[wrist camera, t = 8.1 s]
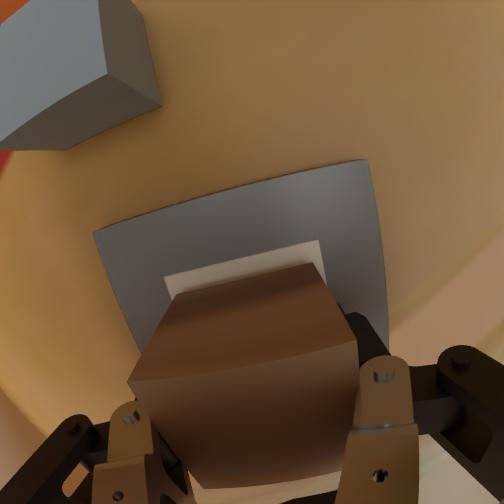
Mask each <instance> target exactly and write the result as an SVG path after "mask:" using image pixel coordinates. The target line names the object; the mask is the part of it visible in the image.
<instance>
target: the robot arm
mask: <svg viewBox="0 0 504 504" xmlns="http://www.w3.org/2000/svg"><path fill="white" fill-rule="evenodd" d="M337 305H338V307H339V308H340V310H341V312H342V314H343V316H344V317H345V319H346V321H347V323H348V325H349V326H350V328H351V330H352V332H353V334H354V336H355V337H356V339H357V347H358V359H359V373H360V385H357V394H356V403H355V412H354V420H353V427H352V428H350V430H349V434H348V439H347V445H346V451H345V457H344V462H343V467H342V472H341V477H340V482H339V487H338V490H335V491H331V492H327V493H322V494H317V495H312V496H307V497H301V498H295V499H292V500H289V501H286V502H283V503H281V504H418V495H419V436H418V435H424V434H429V435H430V436H431V437H432V438H433V439H434V440H435V441H436V442H437V443H438V444H440V445H441V446H442V447H443V448H444V449H445V450H446V451H447V452H448V453H449V454H450V455H451V456H452V457H453V458H454V459H455V460H456V461H457V462H458V463H459V464H460V465H461V466H462V467H464V468H465V469H466V470H467V471H468V472H469V473H470V474H471V475H472V476H473V477H474V478H475V479H476V480H477V481H478V482H479V483H480V484H481V485H483V487H485V488H486V489H487V490H488V491H489V492H490V493H491V494H492V495H493V496H494V497H495V498H496V499H497V500H498V501H499V502H500V504H504V365H503V364H501V363H499V362H498V361H496V360H494V359H493V358H491V357H489V356H488V355H486V354H484V353H483V352H481V351H479V350H478V349H476V348H474V347H471V346H467V345H457V346H453V347H450V348H448V349H446V350H445V351H443V352H442V353H441V355H440V356H439V358H438V363H437V364H433V365H426V366H418V367H413V366H408V364H407V363H406V362H405V361H404V360H403V359H401V358H399V357H396V356H391V354H390V353H389V351H388V349H387V348H386V346H385V345H384V343H383V342H382V340H381V339H380V337H379V336H378V334H377V333H376V332H375V330H374V328H373V327H372V326H371V324H370V322H369V321H368V319H367V318H366V317H365V316H363V315H361V314H359V313H358V312H352V313H348V314H345V312H344V311H343V309H342V307H341V305H340V304H339V303H337ZM79 462H80V463H81V464H82V465H83V466H84V467H85V468H86V469H87V470H88V471H89V473H88V474H87V476H86V477H85V478H84V480H83V481H82V482H81V484H80V485H79V486H78V488H77V489H76V490H75V491H74V493H73V494H72V495H71V496H70V497H66V496H65V495H64V493H63V491H62V485H63V482H64V481H65V480H66V479H67V477H68V476H69V475H70V474H71V472H72V471H73V470H74V469H75V467H76V466H77V465H78V463H79ZM0 504H197V503H196V501H195V498H194V494H193V490H192V486H191V483H190V478H189V474H188V470H187V468H186V467H185V466H184V464H183V463H182V462H181V461H180V460H179V458H178V457H177V456H176V455H175V453H174V452H173V451H172V449H171V448H170V447H169V445H168V444H167V443H166V441H165V440H164V438H163V437H162V436H161V434H160V433H159V431H158V429H157V428H156V426H155V425H154V423H153V422H152V420H151V419H150V418H149V417H148V415H147V414H146V412H145V411H144V409H143V407H142V406H141V404H140V403H139V401H138V400H137V398H135V400H134V401H130V402H127V403H125V404H123V405H121V406H120V407H118V408H117V409H116V410H115V411H114V412H113V414H112V416H111V419H110V421H109V422H104V423H100V424H96V425H93V423H92V422H91V421H90V419H89V418H88V417H87V416H85V415H82V414H77V415H73V416H71V417H69V418H67V419H65V420H64V421H63V422H62V423H61V424H60V425H59V426H58V427H57V428H56V430H55V431H54V432H53V433H52V434H51V435H50V436H49V437H48V438H47V439H46V440H45V441H44V443H43V444H42V445H41V446H40V447H39V448H38V449H37V450H36V451H35V452H34V454H33V455H32V456H31V457H30V458H29V459H28V460H27V461H26V462H25V464H24V465H23V466H22V467H21V468H20V469H19V470H18V471H17V473H16V474H15V475H14V476H13V477H12V478H11V479H10V480H9V482H8V483H7V484H6V485H5V486H4V487H3V488H2V490H1V491H0Z"/></svg>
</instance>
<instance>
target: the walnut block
mask: <svg viewBox="0 0 504 504" xmlns="http://www.w3.org/2000/svg"><path fill="white" fill-rule="evenodd" d="M127 383H128V385H129V386H130V388H131V390H132V391H133V393H134V395H135V396H136V398H137V400H138V401H139V403H140V404H141V406H142V407H143V409H144V411H145V412H146V414H147V415H148V417H149V418H150V419H151V420H152V422H153V423H154V425H155V426H156V428H157V429H158V431H159V433H160V434H161V436H162V437H163V438H164V440H165V441H166V443H167V444H168V445H169V447H170V448H171V449H172V451H173V452H174V453H175V455H176V456H177V457H178V458H179V460H180V461H181V462H182V463H183V464H184V466H185V467H186V468H187V470H188V471H189V472H190V473H191V475H192V476H193V477H194V478H195V479H196V481H197V482H198V483H199V484H200V485H201V486H202V488H203V489H218V488H236V487H249V486H259V485H267V484H275V483H282V482H288V481H294V480H300V479H305V478H310V477H315V476H320V475H324V474H329V473H333V472H337V471H341V470H342V467H343V462H344V457H345V451H346V445H347V439H348V434H349V430H350V428H352V427H353V420H354V412H355V403H356V394H357V385H360V373H359V359H358V347H357V339H356V337H355V336H354V334H353V332H352V330H351V328H350V326H349V325H348V323H347V321H346V319H345V317H344V316H343V314H342V312H341V310H340V308H339V307H338V305H337V303H336V301H335V300H334V298H333V296H332V294H331V293H330V291H329V289H328V287H327V286H326V284H325V282H324V280H323V279H322V277H321V275H320V273H319V272H318V270H317V268H316V267H315V265H314V263H313V262H310V263H306V264H302V265H298V266H294V267H290V268H285V269H281V270H277V271H273V272H269V273H265V274H261V275H257V276H252V277H248V278H244V279H240V280H236V281H231V282H227V283H223V284H218V285H214V286H210V287H205V288H201V289H197V290H192V291H188V292H183V293H179V294H176V295H175V297H174V299H173V300H172V302H171V304H170V306H169V307H168V309H167V311H166V313H165V314H164V316H163V318H162V319H161V321H160V323H159V325H158V326H157V328H156V330H155V332H154V334H153V335H152V337H151V339H150V341H149V342H148V344H147V346H146V348H145V350H144V351H143V353H142V355H141V357H140V359H139V360H138V362H137V364H136V366H135V368H134V370H133V371H132V373H131V375H130V377H129V379H128V381H127Z"/></svg>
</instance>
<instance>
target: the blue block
mask: <svg viewBox="0 0 504 504" xmlns="http://www.w3.org/2000/svg"><path fill="white" fill-rule="evenodd" d="M160 107H163V106H162V102H161V98H160V94H159V89H158V85H157V81H156V77H155V72H154V68H153V64H152V59H151V55H150V50H149V45H148V41H147V36H146V31H145V26H144V21H143V16H142V14H141V13H140V11H139V10H138V9H137V8H136V6H135V5H134V4H133V3H132V2H131V0H31V1H29V2H28V3H27V4H25V5H24V6H23V7H21V8H20V9H19V10H18V11H16V12H15V13H14V14H13V15H12V16H10V17H9V18H8V19H7V20H6V21H4V22H3V23H2V24H1V25H0V151H18V150H67V149H69V148H71V147H73V146H75V145H77V144H79V143H81V142H82V141H84V140H86V139H88V138H90V137H92V136H95V135H97V134H99V133H101V132H103V131H105V130H107V129H109V128H112V127H114V126H116V125H118V124H120V123H123V122H125V121H127V120H130V119H132V118H135V117H137V116H139V115H142V114H144V113H147V112H149V111H152V110H155V109H157V108H160Z"/></svg>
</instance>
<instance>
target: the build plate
mask: <svg viewBox="0 0 504 504" xmlns="http://www.w3.org/2000/svg"><path fill="white" fill-rule="evenodd" d="M92 233H93V236H94V239H95V242H96V245H97V248H98V251H99V254H100V257H101V259H102V262H103V265H104V268H105V270H106V273H107V276H108V278H109V281H110V283H111V286H112V288H113V291H114V293H115V296H116V298H117V301H118V303H119V305H120V308H121V310H122V312H123V315H124V317H125V319H126V322H127V324H128V326H129V328H130V330H131V333H132V335H133V337H134V339H135V341H136V343H137V345H138V347H139V349H140V351H141V353H143V351H144V350H145V348H146V346H147V344H148V342H149V341H150V339H151V337H152V335H153V334H154V332H155V330H156V328H157V326H158V325H159V323H160V321H161V319H162V318H163V316H164V314H165V313H166V311H167V309H168V307H169V306H170V304H171V302H172V300H173V299H174V297H175V295H176V294H179V293H183V292H188V291H192V290H197V289H201V288H205V287H210V286H214V285H218V284H223V283H227V282H231V281H236V280H240V279H244V278H248V277H252V276H257V275H261V274H265V273H269V272H273V271H277V270H281V269H285V268H290V267H294V266H298V265H302V264H306V263H310V262H313V263H314V265H315V267H316V268H317V270H318V272H319V273H320V275H321V277H322V279H323V280H324V282H325V284H326V286H327V287H328V289H329V291H330V293H331V294H332V296H333V298H334V300H335V301H336V303H339V304H340V305H341V307H342V309H343V311H344V312H345V314H348V313H352V312H358V313H359V314H361V315H363V316H365V317H366V318H367V319H368V321H369V322H370V324H371V326H372V327H373V328H374V330H375V332H376V333H377V334H378V336H379V337H380V339H381V340H382V342H383V343H384V345H385V346H386V348H387V349H388V351H389V326H388V306H387V291H386V279H385V268H384V258H383V250H382V242H381V234H380V227H379V220H378V214H377V207H376V201H375V196H374V190H373V185H372V180H371V175H370V170H369V165H368V160H367V159H357V160H352V161H347V162H342V163H337V164H332V165H327V166H322V167H318V168H313V169H308V170H304V171H299V172H295V173H290V174H286V175H282V176H278V177H273V178H269V179H265V180H261V181H257V182H253V183H249V184H245V185H241V186H238V187H234V188H230V189H226V190H223V191H219V192H215V193H212V194H208V195H205V196H201V197H198V198H194V199H191V200H187V201H184V202H180V203H177V204H174V205H170V206H167V207H164V208H161V209H157V210H154V211H151V212H148V213H145V214H142V215H139V216H136V217H132V218H129V219H126V220H123V221H120V222H118V223H115V224H112V225H109V226H106V227H103V228H101V229H99V230H96V231H94V232H92Z"/></svg>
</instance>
